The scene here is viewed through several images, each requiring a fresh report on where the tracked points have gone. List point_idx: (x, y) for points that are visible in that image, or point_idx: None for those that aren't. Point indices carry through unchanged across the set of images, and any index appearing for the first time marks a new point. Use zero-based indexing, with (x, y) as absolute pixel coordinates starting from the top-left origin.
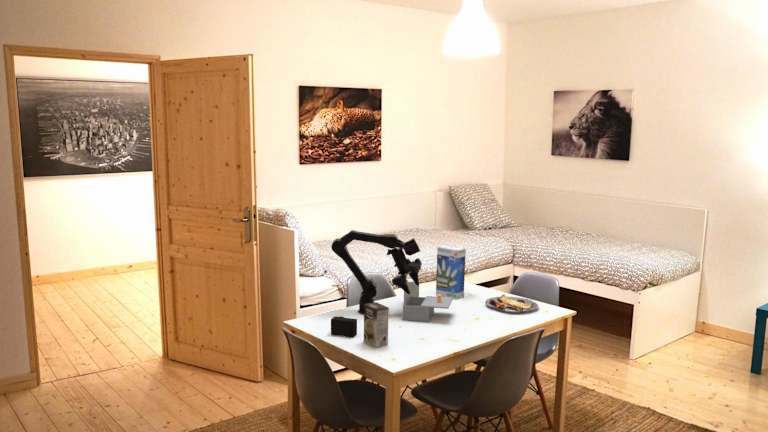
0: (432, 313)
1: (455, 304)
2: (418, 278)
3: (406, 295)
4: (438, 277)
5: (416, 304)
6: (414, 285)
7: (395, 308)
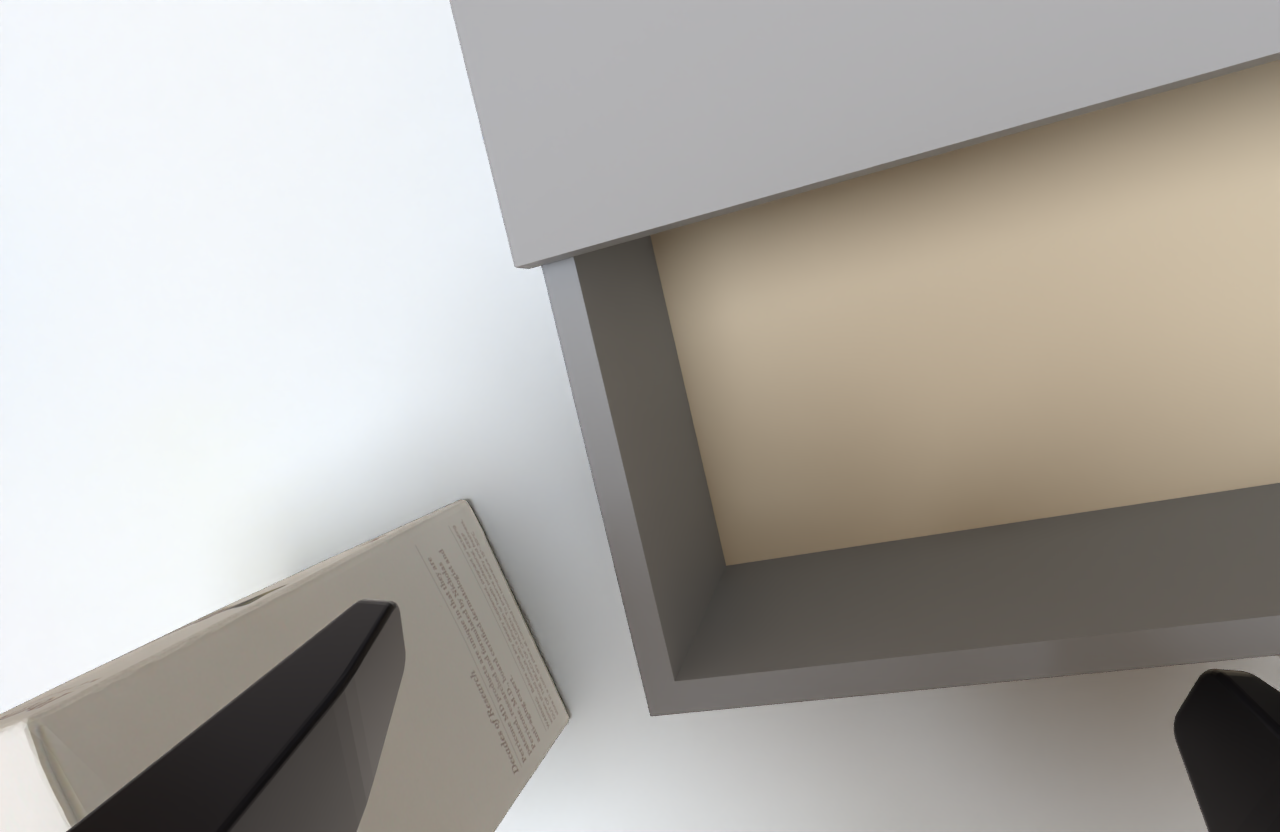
0: None
1: (63, 13)
2: (95, 810)
3: (464, 810)
4: None
5: (679, 474)
6: None
7: (711, 826)
